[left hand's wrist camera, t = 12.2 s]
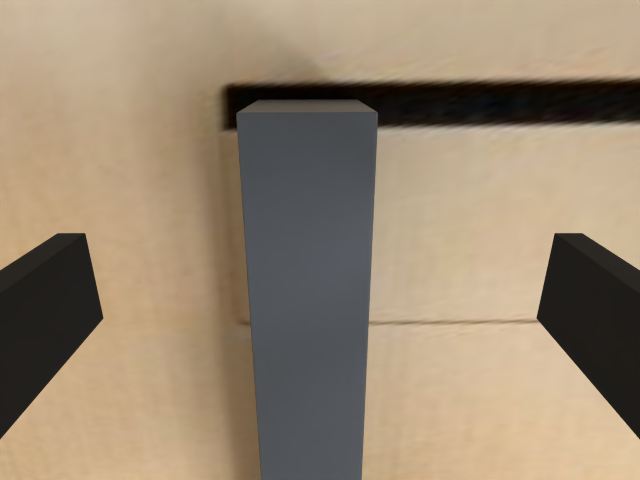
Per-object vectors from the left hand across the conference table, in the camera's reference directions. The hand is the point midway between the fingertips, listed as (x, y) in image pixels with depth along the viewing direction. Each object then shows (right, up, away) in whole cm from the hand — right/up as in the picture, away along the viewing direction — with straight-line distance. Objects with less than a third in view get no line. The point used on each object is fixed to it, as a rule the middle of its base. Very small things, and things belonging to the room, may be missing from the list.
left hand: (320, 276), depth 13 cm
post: (-1, -17, +22) cm, 27 cm away
